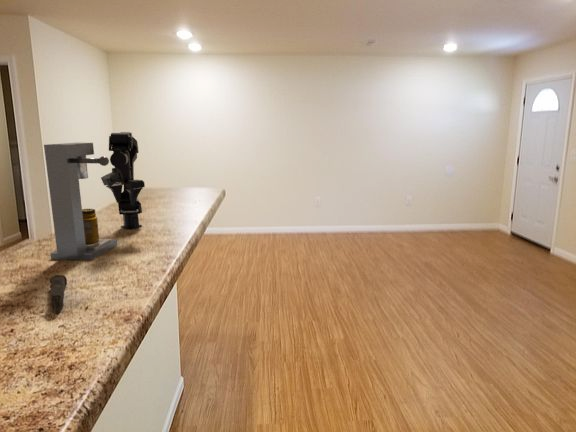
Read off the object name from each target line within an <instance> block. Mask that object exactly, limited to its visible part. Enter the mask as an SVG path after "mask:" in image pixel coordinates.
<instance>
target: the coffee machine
mask: <svg viewBox="0 0 576 432" xmlns="http://www.w3.org/2000/svg"><path fill="white" fill-rule="evenodd" d="M43 148H44V156H45V158H44V159H45V165H46V172H47V182H48V188H49V196H50V197H49V198H50V205H51V213H52V220H53V229H54V238H55V245H56V250H54V251H52V252H51V253H50V259H51V260H65V261H67V260H69V261H93V260H94V259H96V258H98V257H100V256H101V255H103V254H105V253H106V252H108V251H110V250H111V249H113V248H114V247H117V246H118V240H117V239H111V238H103V239H104V240H103V241H101V242H99V243H97V244H95V245H93V246H86V243H85V234H84V224H83V215H82V209H83V207H82V197H81V196H82V195H81V190H80V189H81V188H80V180H86V179H89V172H88V164H96V165H97V164H99V165H100V166H103V167H106V166H108V165H109V163H110V158H109V157H107V156H105V155H103V156H100V157H99V158H98V157H97V158H93V157H91V158H90V157H87V156H91V155H92V156H93V155H95V151H94V149H95V148H94V142H67V143H65V142H64V143H49V144H43Z"/></svg>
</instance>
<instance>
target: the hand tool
mask: <svg viewBox="0 0 576 432" xmlns="http://www.w3.org/2000/svg"><path fill="white" fill-rule="evenodd" d="M49 284H50V285H49V288H50V290H51V291H50V304H51V308H52V310H53V312H54V313H56V314H57V315H58V314H59V313H61V311H62V309H63V307H64V306H65V304H64V299H65V291H66V286H67V285H68V280H67V277H66V275H64V274H56V275H53V276H52V277H50V278H49Z"/></svg>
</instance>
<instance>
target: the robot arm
mask: <svg viewBox="0 0 576 432" xmlns="http://www.w3.org/2000/svg"><path fill="white" fill-rule="evenodd" d="M138 143H139V142H138V140H137V139H135V137H134V136H133V133H132V132H130V131H120V132H111V133H110V135H109V136H108V151H109V152H112V154H111V155H110V157H109V163H110V164H111V165H112V166H113V167H112V168H111V172H109V173H107V174H105V175H103V176H101V177H100V179H101V181H102V184H103V186H105V187H106V188H108V189H109V190H110V191H111V192H112V194H113V196H114V197H113V198H115V201H116V203H117V206H118V213H119V215H120V216H122V219H123V221H122V222H123V225H121V226H120V228H122V229H127V230H132V229H136V228H140V227H143V225H142V224H140V220H139V215H140V214H142V213H143V207H142V203H141V202H140V200H139V198H138V197H139V195H140V193H141V191H142V190H143V189H144V188H145V187H146V185H145V181H144V180H142V179H135V178H134V177H135V173H134V166H135V162H136V160H137V158H138V154H139V145H138Z"/></svg>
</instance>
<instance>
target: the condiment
mask: <svg viewBox="0 0 576 432" xmlns="http://www.w3.org/2000/svg"><path fill="white" fill-rule="evenodd" d="M82 215H83V224H84V234H85V243H86V246H93V245H95V244H97V243H99V242H101V241H103V240H104V239H105V238H100V235H99V223H98V217H97V213H96V209H94V208H82Z"/></svg>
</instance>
